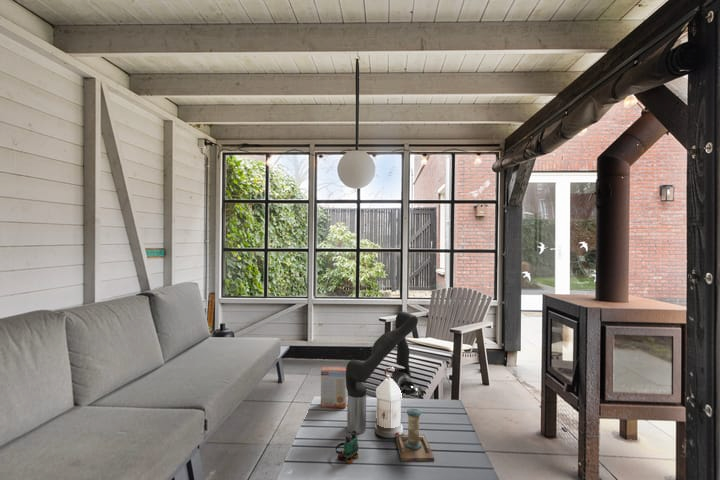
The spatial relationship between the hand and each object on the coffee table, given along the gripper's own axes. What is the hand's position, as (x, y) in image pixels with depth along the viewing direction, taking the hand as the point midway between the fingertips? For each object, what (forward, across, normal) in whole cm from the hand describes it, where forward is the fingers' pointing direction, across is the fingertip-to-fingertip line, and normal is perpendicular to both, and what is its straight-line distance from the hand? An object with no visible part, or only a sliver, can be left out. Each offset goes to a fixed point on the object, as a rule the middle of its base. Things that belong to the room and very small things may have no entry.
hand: (410, 396), depth 189 cm
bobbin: (+14, -1, +16) cm, 22 cm away
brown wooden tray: (+14, 0, +18) cm, 23 cm away
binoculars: (+21, -30, +19) cm, 41 cm away
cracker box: (-32, -38, +18) cm, 53 cm away
